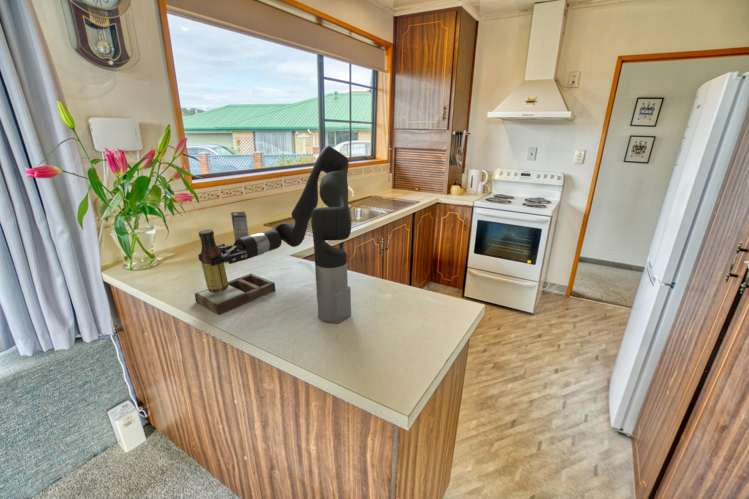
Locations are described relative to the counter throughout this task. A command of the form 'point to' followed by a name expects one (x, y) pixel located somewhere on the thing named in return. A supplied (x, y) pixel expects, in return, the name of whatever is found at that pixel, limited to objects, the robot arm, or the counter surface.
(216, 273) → the sauce bottle
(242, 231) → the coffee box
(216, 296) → the board
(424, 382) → the counter surface
